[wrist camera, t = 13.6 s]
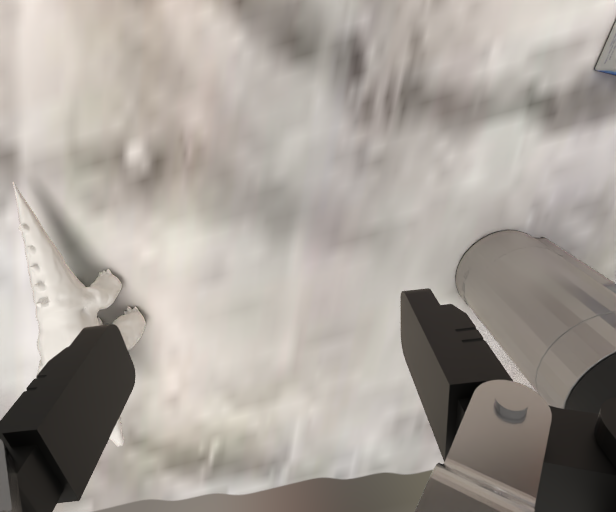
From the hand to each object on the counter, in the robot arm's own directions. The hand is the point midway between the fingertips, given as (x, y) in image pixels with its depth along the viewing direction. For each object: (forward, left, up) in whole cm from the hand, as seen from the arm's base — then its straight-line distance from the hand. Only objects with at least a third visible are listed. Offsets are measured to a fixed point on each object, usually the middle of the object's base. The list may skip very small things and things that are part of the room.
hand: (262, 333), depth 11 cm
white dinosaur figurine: (+19, +10, -26) cm, 34 cm away
